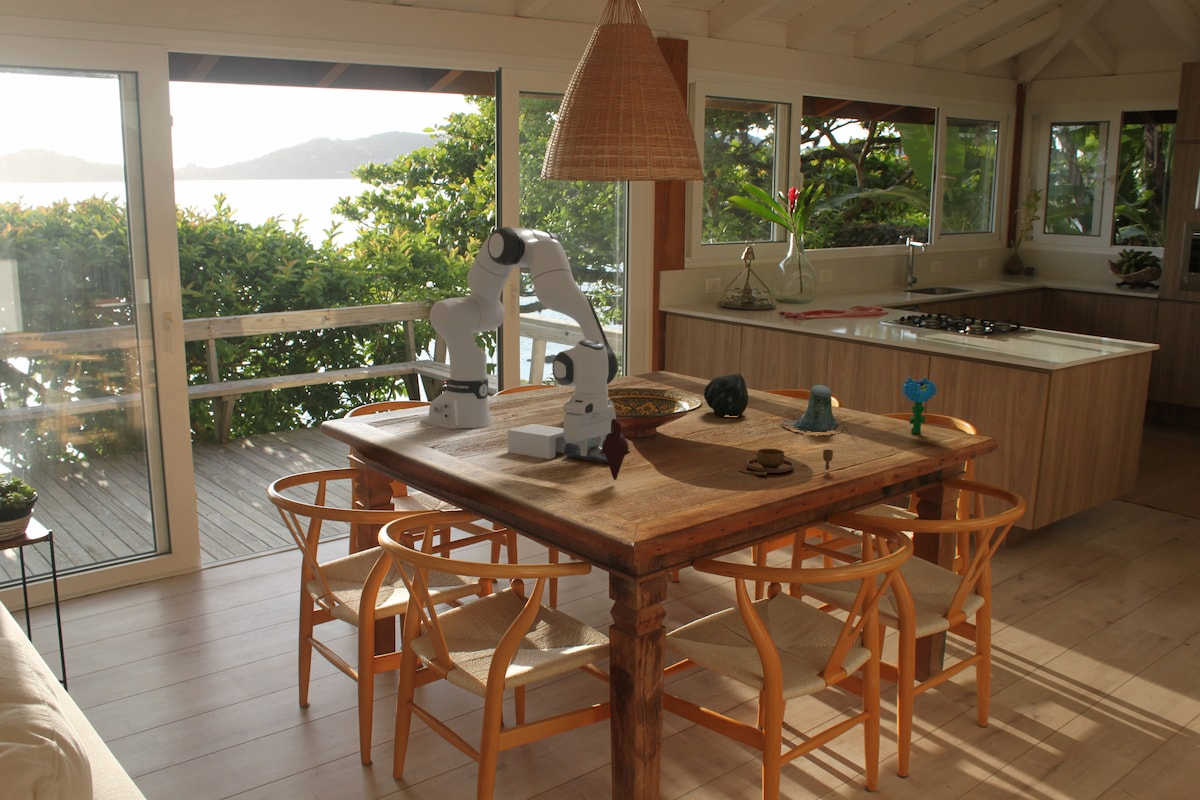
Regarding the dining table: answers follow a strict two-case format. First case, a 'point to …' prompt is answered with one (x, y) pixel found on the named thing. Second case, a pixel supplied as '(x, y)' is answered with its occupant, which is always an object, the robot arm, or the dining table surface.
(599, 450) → the axle
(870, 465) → the dining table surface
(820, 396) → the green grey mushroom
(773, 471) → the place setting
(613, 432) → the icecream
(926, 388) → the toy flower
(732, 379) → the squash
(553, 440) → the white notched block
